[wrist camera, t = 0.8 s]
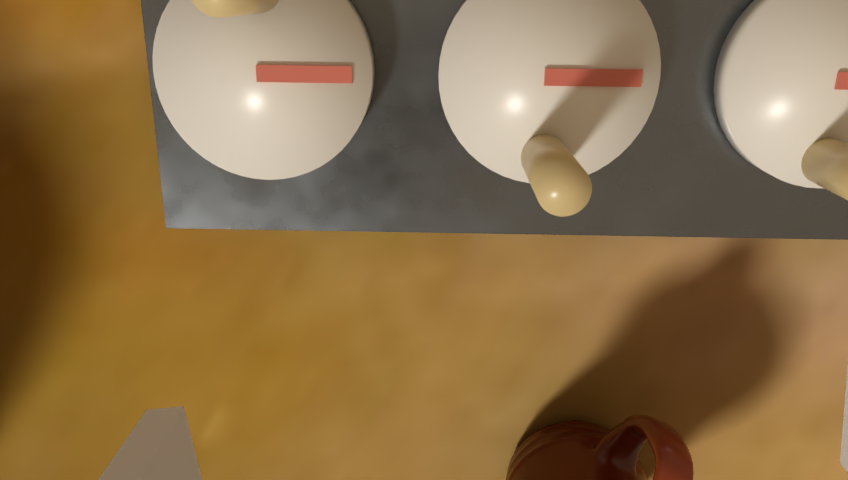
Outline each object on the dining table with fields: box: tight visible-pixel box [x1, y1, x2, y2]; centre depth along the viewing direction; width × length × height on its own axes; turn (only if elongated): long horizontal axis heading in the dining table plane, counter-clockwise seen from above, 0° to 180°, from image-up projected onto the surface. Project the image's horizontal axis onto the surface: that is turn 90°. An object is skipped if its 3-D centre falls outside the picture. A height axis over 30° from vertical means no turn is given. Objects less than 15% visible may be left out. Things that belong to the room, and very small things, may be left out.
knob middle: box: [438, 0, 661, 217], centre depth 28 cm, size 9×9×7 cm
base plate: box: [141, 0, 848, 240], centre depth 32 cm, size 35×15×2 cm, turn 89°
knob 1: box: [152, 0, 375, 180], centre depth 28 cm, size 9×9×7 cm
